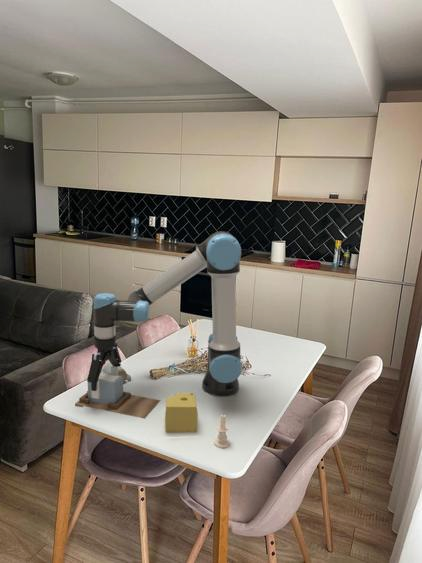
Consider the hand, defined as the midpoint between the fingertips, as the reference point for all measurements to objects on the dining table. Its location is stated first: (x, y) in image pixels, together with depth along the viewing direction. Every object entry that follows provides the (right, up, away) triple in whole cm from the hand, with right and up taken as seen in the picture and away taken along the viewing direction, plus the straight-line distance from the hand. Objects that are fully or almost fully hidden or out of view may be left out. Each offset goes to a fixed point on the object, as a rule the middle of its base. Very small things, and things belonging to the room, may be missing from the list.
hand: (105, 389), depth 159 cm
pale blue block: (0, -4, +1) cm, 4 cm away
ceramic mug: (+1, -1, +18) cm, 18 cm away
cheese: (+29, -9, -13) cm, 33 cm away
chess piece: (+43, -12, -23) cm, 50 cm away
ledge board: (+5, -5, -1) cm, 7 cm away
